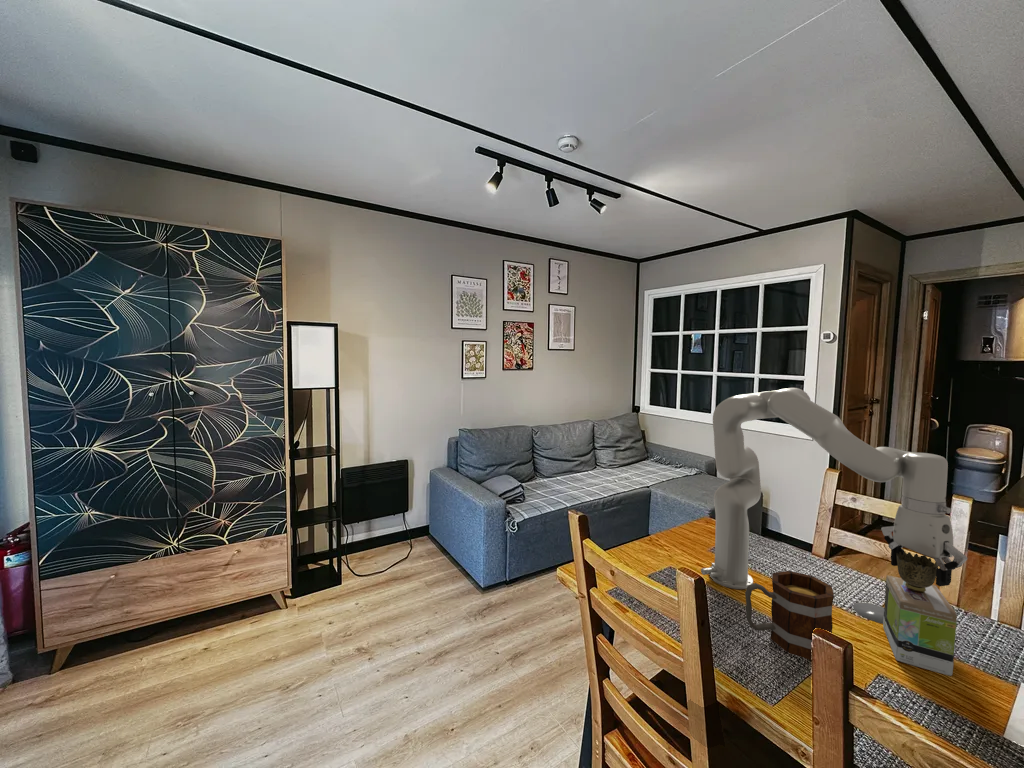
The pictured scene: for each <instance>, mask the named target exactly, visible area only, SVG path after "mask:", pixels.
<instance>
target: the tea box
mask: <svg viewBox="0 0 1024 768" xmlns="http://www.w3.org/2000/svg"><path fill="white" fill-rule="evenodd" d="M885 579H886V580H885V591H884V594H885V595H884V606H883V607H884V619H883V625H882V627H883V630H884V633H885V635H886V637H887V639H888V640H887V641H888V643H889V646H890V648H891V651H892V653H893V656H894V658H895V660H896V661H898V662H901V663H904V664H907V665H910V666H914V667H917V668H921V669H924V670H929V671H931V672H935V673H939V674H943V675H945V676H950V677H952V676H953V673H954V672H953V670H954V660H955V659H954V658H955V645H956V644H955V643H956V634H957V625H958V624H957V622H958V614H957V613H956V611H955V608H953V606H952V605H951V604H950V602H949V601H948V600H947V598H946V597H945V595H944V594H943V593H942V591H941V590H940V589H939V588H938V587H939V586H938V585H936V584H933V585H931V586H930V587H926V591H925V592H924V593H916V592H913V591H911V590H909V589H907V588H906V586H905V583H906V582H905V581H904V580H902V578H901V577H897V576H893V575H888V574H887V575H886V578H885Z"/></svg>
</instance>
